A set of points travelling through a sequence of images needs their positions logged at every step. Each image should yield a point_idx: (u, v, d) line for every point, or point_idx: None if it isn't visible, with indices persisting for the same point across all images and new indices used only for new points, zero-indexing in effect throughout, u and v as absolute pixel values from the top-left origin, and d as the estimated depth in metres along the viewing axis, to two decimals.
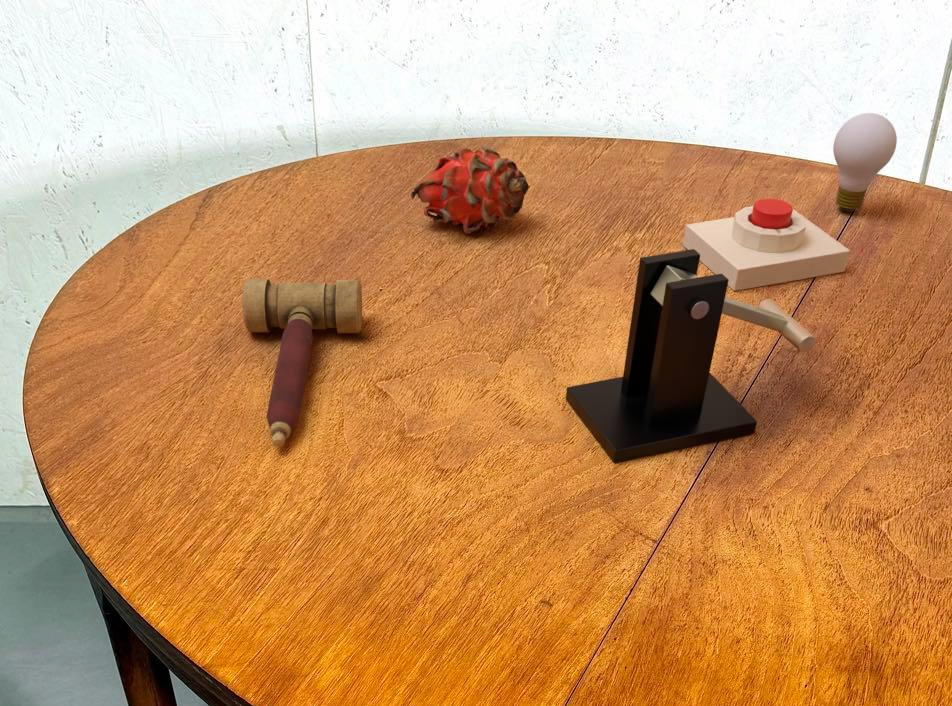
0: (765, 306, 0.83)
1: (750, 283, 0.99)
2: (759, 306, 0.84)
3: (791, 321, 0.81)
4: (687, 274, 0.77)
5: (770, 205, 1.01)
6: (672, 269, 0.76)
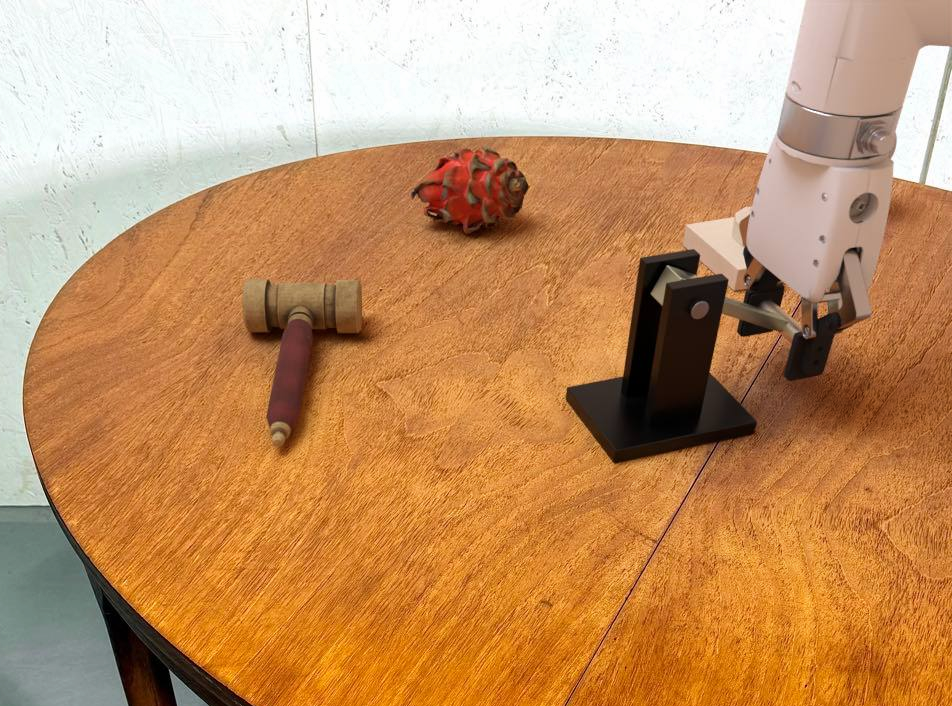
0: (765, 306, 0.83)
1: None
2: (759, 306, 0.84)
3: (791, 321, 0.81)
4: (687, 274, 0.77)
5: None
6: (672, 269, 0.76)
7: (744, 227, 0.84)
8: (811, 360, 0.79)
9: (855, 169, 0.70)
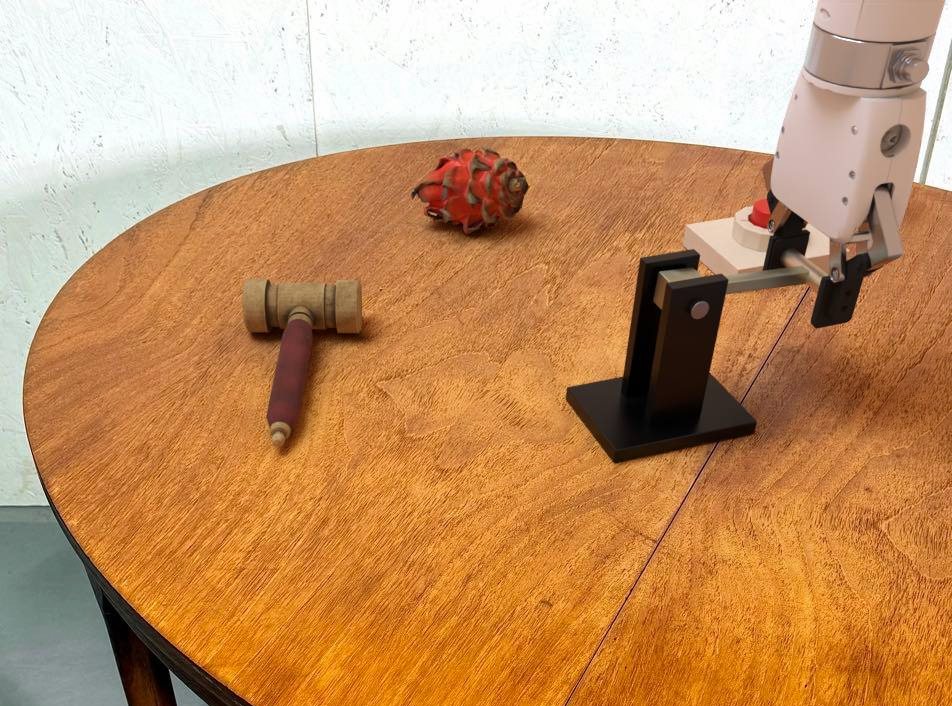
0: (786, 258, 0.81)
1: None
2: (781, 259, 0.82)
3: (813, 271, 0.79)
4: (682, 273, 0.76)
5: None
6: (664, 275, 0.76)
7: (767, 171, 0.81)
8: (839, 305, 0.77)
9: (887, 99, 0.67)
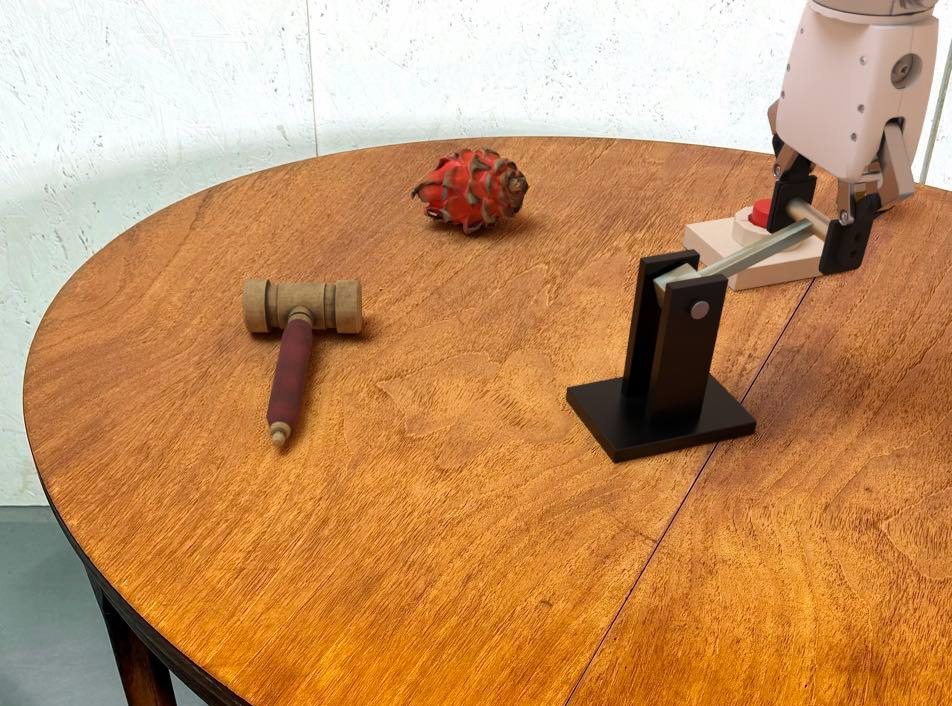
0: (790, 211, 0.78)
1: (750, 283, 0.99)
2: (786, 211, 0.79)
3: (816, 221, 0.76)
4: (676, 274, 0.76)
5: (770, 205, 1.01)
6: (658, 283, 0.76)
7: (772, 114, 0.78)
8: (848, 250, 0.74)
9: (897, 26, 0.64)
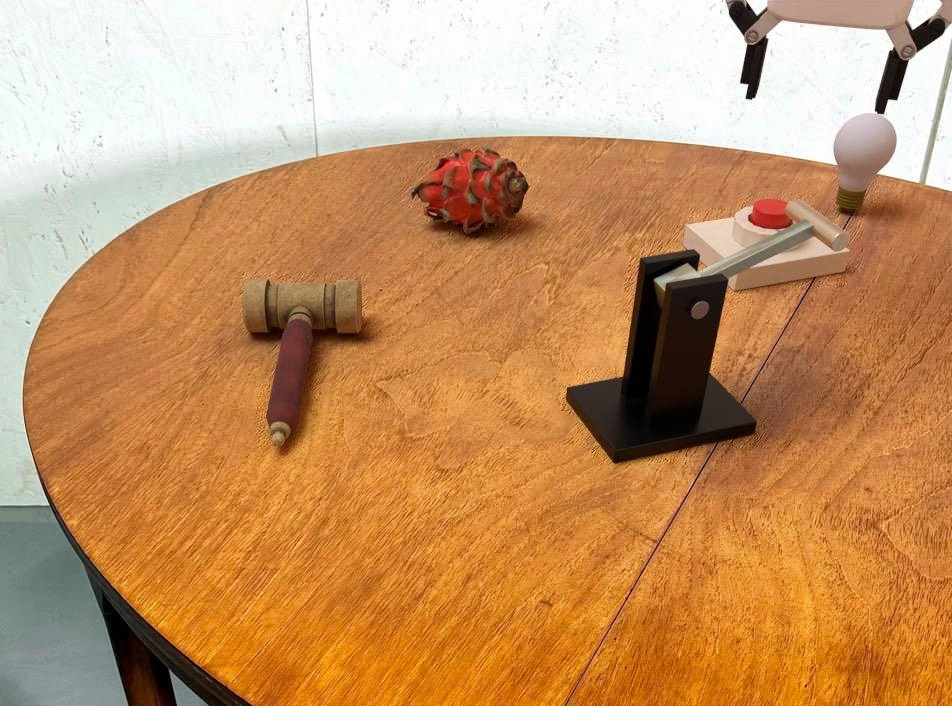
0: (790, 212, 0.78)
1: (750, 283, 0.99)
2: (786, 213, 0.79)
3: (816, 223, 0.76)
4: (676, 274, 0.76)
5: (770, 205, 1.01)
6: (658, 282, 0.76)
7: None
8: None
9: None
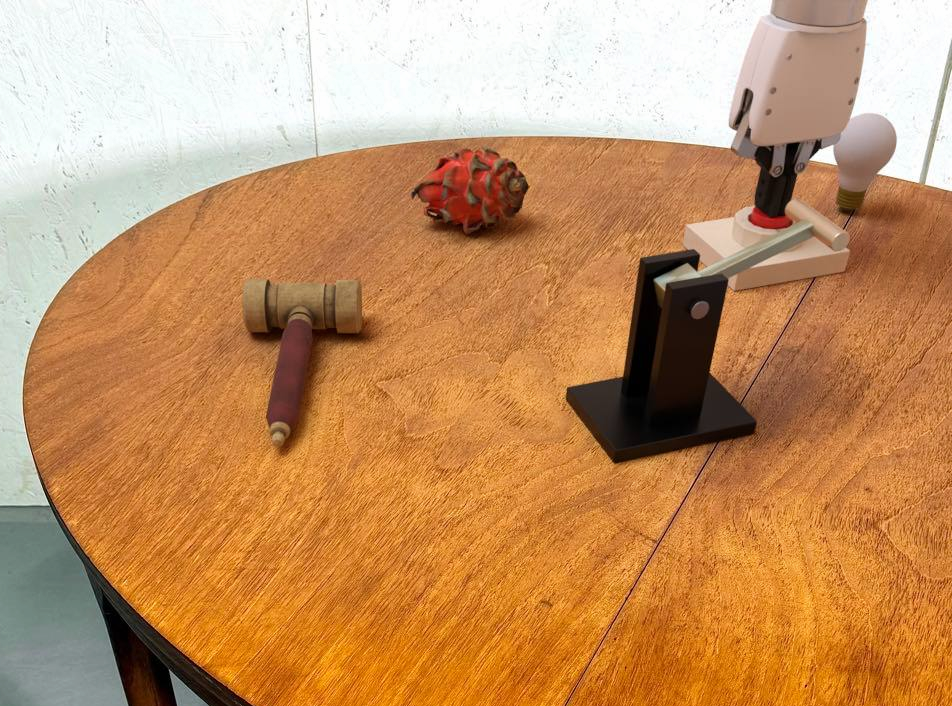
0: (790, 212, 0.78)
1: (750, 283, 0.99)
2: (786, 213, 0.79)
3: (816, 223, 0.76)
4: (676, 274, 0.76)
5: None
6: (658, 282, 0.76)
7: (744, 149, 0.95)
8: None
9: None
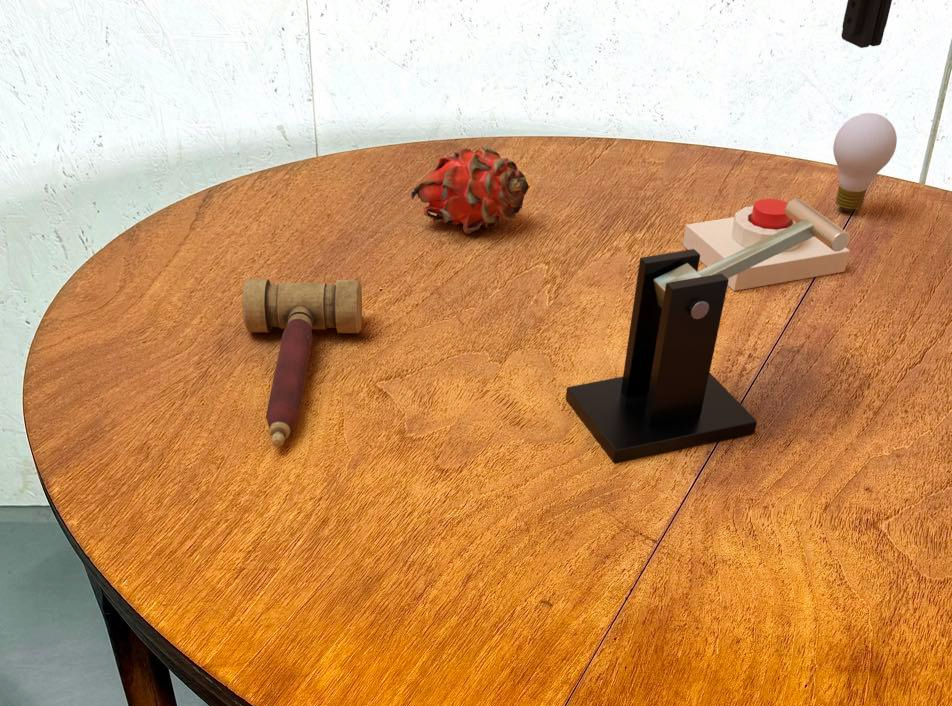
0: (790, 212, 0.78)
1: (750, 283, 0.99)
2: (786, 213, 0.79)
3: (816, 223, 0.76)
4: (676, 274, 0.76)
5: (770, 205, 1.01)
6: (658, 282, 0.76)
7: None
8: None
9: None
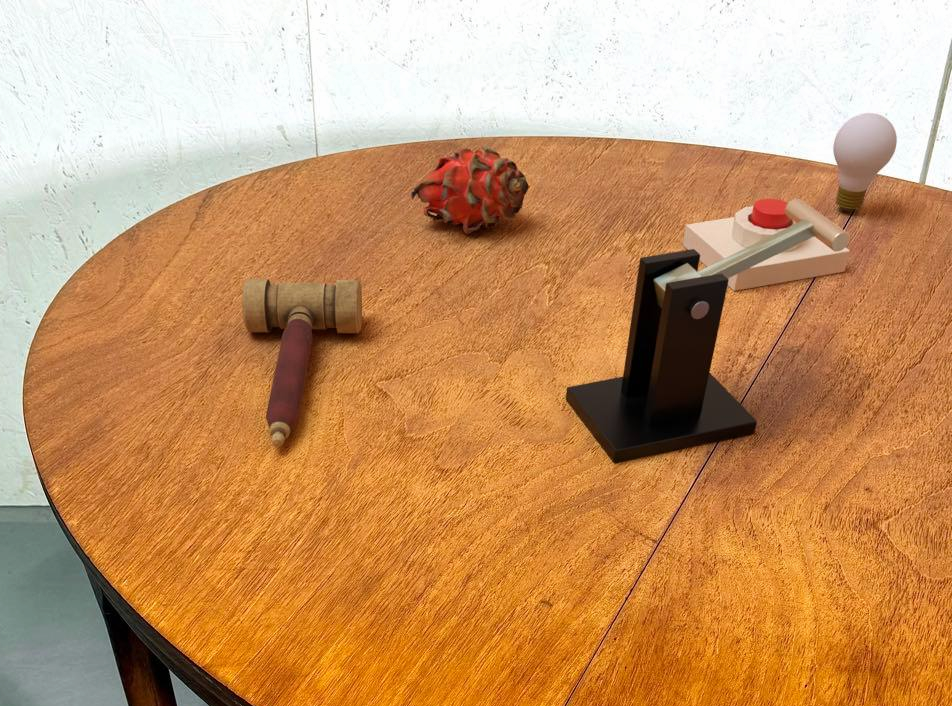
0: (790, 212, 0.78)
1: (750, 283, 0.99)
2: (786, 213, 0.79)
3: (816, 223, 0.76)
4: (676, 274, 0.76)
5: (770, 205, 1.01)
6: (658, 282, 0.76)
7: None
8: None
9: None
